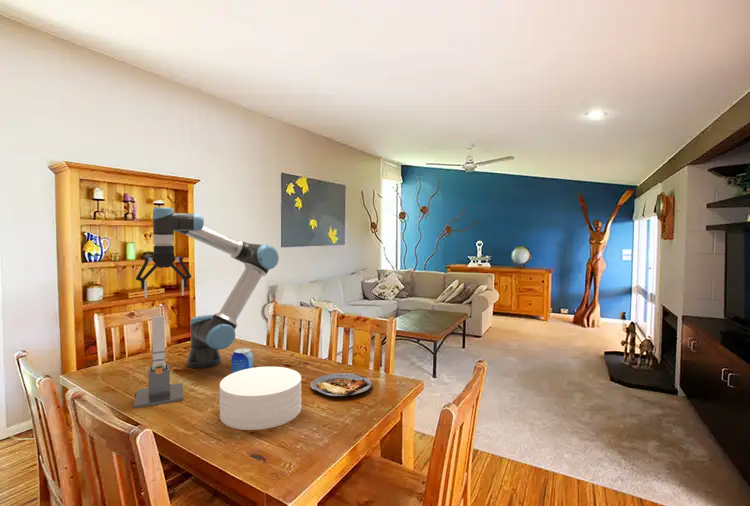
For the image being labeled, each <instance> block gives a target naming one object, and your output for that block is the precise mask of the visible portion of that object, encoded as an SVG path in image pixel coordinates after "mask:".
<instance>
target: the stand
mask: <svg viewBox="0 0 750 506" xmlns="http://www.w3.org/2000/svg"><path fill="white" fill-rule="evenodd" d="M170 367H171V365H170V363H166V369H165V370H163V368H157V369H155V371H153V370H152V366H148V387H146V388H144V387H143V388H139V389H137V391H136V394H135V399H134V403H133V409H137V408H143V407H149V406H155V405H163V404H168V403H173V402H175V403H176V402H180V401H184V391H183V390H184V387H183V383H182V382H180V383H172V384H171V375H170V373H171V372H170V370H171V369H170Z"/></svg>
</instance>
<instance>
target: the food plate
mask: <svg viewBox="0 0 750 506" xmlns="http://www.w3.org/2000/svg"><path fill="white" fill-rule="evenodd" d="M337 379H348V380H351V382H350V381H349V382H350V383H349V382H348V384H347V383H346V382H347V381H348V380H347V381H345V380H343V381H342V380H337ZM331 380H332V381H331ZM356 380H359V381H361V382H359V383H358V382H357V381H356ZM329 381H330V382H329ZM326 382H329V383H326ZM332 383H333V384H332ZM334 384H336V385H339V386H343V387H344V386H347V387H346V388H347V389H346V388H342V387H339V386H335V385H334ZM310 387H311V389H312V390H314V391H317V392H318V393H321V394H324V395H326V396H329V397H350V396H357V395H359V394H362V393H364V392H367V391H369V390H370V389H371V387H373V382H372V381H371V380H370V379H369V378H368V377H365V376H363V375H360V374H356V373H350V372H348V373H347V372H344V373H343V372H341V373H337V372H336V373H330V374H328V373H327V374H325V375H321V376H320V377H319V376H318V377H317V378H315V379H314V380H313V381H311V383H310ZM358 389H360V390H359V391H355V390H358Z"/></svg>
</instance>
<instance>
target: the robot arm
mask: <svg viewBox="0 0 750 506" xmlns="http://www.w3.org/2000/svg"><path fill="white" fill-rule="evenodd" d="M204 220H205V219H204V218H203V215H202V214H199V213H186V212H174V208H172V207H161V206H160V207H159V206H158V207H155V208H153V210H152V229H153V231H152V232H153V235H152V241H153V245H154V246H153V256H152V257H148V256H146V257H144V263H143V264H142V267H141V268H140V270H139V272H138V273H137V276H136V277H135V280H136V281H139V282H140V287H141V288H140V289H141V290H143V291H144V298H148V281H147V278H149V276H150V275H151V274H152V273H153V272H154V271H155V270H156V269H157V268H160V269H162V268H166V269H167V268H170V267H171V268H172V269H173V270H174V271H175V272H176V273H177V274H178V275H179V276H180V278H182V279H181V296H185V290H184V289H185V288H187V287H188V284H187V283H188V282H187V281H188V280H189V279H191V278H192V274H191V273H190V271H189V270H188V268H187V266H186V264H185V262H184V261H183V259H184V258H183V256H182V255H181V256H177V257H176V256H175V246H174V243H175V237H174V236H175V234H174V233H175V232H177V233H179V234H181V235H185V236H187V237H189V238H192V239H194V240H195V241H198V242H201V243H203V244H205V245H208V246H210V247H211V248H214V249H217V250H219V251H222V252H223V253H226V254H228V255H230V257H231V258H232V259H235V260H236V261H239V262H240V263H243V265H244V270H243V272H242V273H241V275H240V277H239V279H238V280H237V282H236V284H235V285H234V287H233V288H232V291H231V292H230V293H229V296H228V297H227V298H226V301H225V302H224V304H223V305H222V307H221V308H220V311H219V312H216V313H214V314H207V315H198V316H193V317H191V319H190V323H189V326H190V328H189V329H190V330H189V331H190V350H189V353H188V356H187V360H186V366H187V367H189V368H192V369H205V368H209V367H210V368H211V367H215V366H217V365H219V364H220V363H222V355H221V354H220V351H219V350H224V349H226V348H227V349H228V347H230V346H231V345H232V344H233V342H234V341H235V338H236V328H237V327H238V324H237V323H238V322H237V320H238V318H239V316H240V315H241V313H242V312H243V310H244V307H245V306H246V304H247V303H248V301H249V300H250V297H251V296H252V294H253V292H254V291H255V289H256V286H257V285H258V284H259V282H260V280H261V279H262V277H264V276H267V274H268V272H269V270H272V269H274V268H276V266H277V265H278V263H279V259H280V258H279V253H278V250H277V249H276V247H274V246H272V245H271V244H270V245H269V244H265V243H264V244H259V243H249V242H246V241H243V240H241V239H239V240H236V239H234V238H232V237H230V236H227V235H225V234H223V233H220V232H219V231H216V230H214V229H212V228H210V227H208V226H206V225H205V224H204ZM175 261H177V262H178V263H179V264H180V266H181V267H182V269H183V270H184V273H185V274H186V275H184V273H183V272H182V271H181V270H180V269H179V268H178V267H177V266H176V265H175V264H174V263H175ZM151 262H153V263H154V265H152V267H150V269H149V270H148V271H147V272H146V273H145V275H144V276H143V277H142V275H143V273H144V271H145V269H146V267H147V266H148V264H149V263H151Z"/></svg>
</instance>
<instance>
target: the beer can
mask: <svg viewBox="0 0 750 506" xmlns="http://www.w3.org/2000/svg"><path fill="white" fill-rule="evenodd" d="M249 368H254V353H253V351H252V349H251V348H249V347H239V348H236V349H234V350H233V353H232V355H231V374H232V373H235V372H237V371H241V370H245V369H249Z"/></svg>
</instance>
